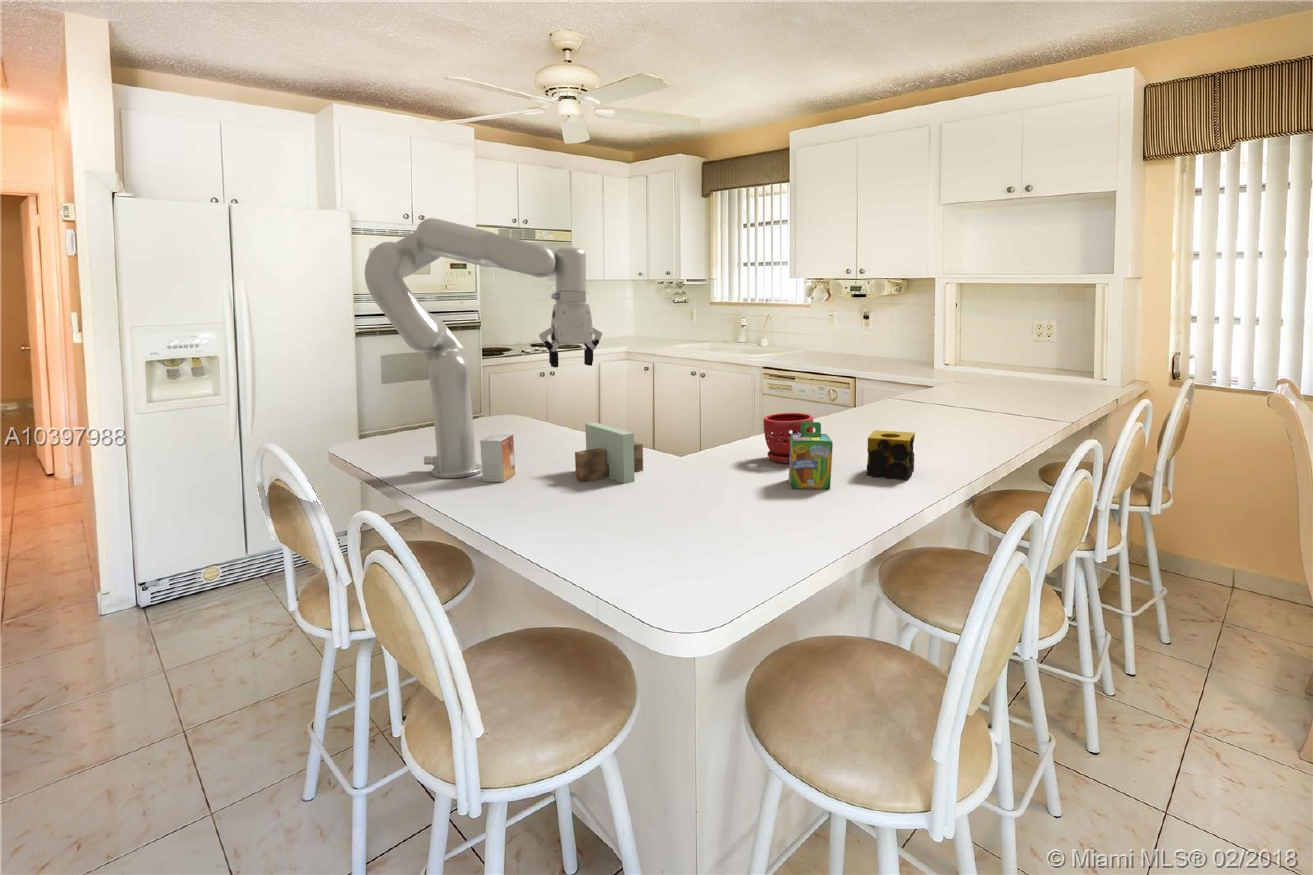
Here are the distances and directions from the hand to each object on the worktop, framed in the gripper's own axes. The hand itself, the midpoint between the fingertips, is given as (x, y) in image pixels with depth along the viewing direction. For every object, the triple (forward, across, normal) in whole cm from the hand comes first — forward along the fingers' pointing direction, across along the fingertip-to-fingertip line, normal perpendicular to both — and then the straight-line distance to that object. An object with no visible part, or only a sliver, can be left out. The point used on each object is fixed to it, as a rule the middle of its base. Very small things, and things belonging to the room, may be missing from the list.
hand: (571, 366), depth 190 cm
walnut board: (+26, +4, -14) cm, 30 cm away
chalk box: (+25, +38, -49) cm, 67 cm away
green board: (+26, +4, -14) cm, 30 cm away
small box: (+27, -20, 0) cm, 34 cm away
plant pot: (+25, +50, -28) cm, 63 cm away
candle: (+24, +60, -54) cm, 85 cm away
